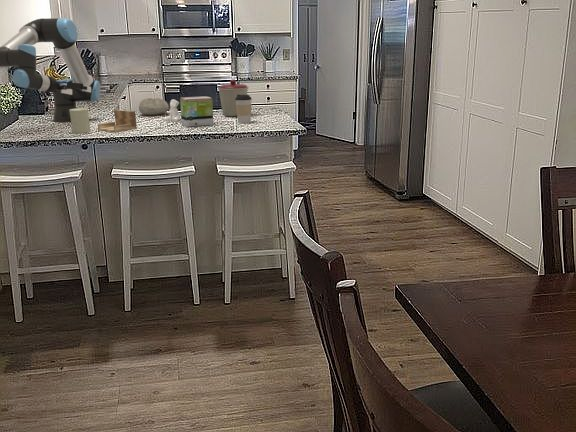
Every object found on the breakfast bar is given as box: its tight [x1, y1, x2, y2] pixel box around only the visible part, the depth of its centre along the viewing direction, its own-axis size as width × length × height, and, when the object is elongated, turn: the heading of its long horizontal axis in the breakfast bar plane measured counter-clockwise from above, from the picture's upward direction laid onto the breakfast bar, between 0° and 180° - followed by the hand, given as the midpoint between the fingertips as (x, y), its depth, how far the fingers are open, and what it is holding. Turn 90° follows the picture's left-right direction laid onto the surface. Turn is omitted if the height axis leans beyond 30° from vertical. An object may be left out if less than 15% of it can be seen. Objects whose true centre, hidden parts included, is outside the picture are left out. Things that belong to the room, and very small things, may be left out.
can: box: [69, 107, 92, 134], centre depth 303 cm, size 9×9×12 cm
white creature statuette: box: [162, 98, 181, 123], centre depth 333 cm, size 10×9×12 cm
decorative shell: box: [138, 97, 170, 116], centre depth 358 cm, size 18×18×10 cm
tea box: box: [179, 95, 214, 128], centre depth 318 cm, size 15×10×15 cm, turn 117°
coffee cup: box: [235, 94, 252, 124], centre depth 323 cm, size 9×9×15 cm
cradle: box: [97, 109, 138, 134], centre depth 308 cm, size 14×14×9 cm
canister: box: [217, 78, 250, 118], centre depth 347 cm, size 18×18×21 cm
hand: (81, 90), depth 299 cm, fingers open, 13 cm apart
